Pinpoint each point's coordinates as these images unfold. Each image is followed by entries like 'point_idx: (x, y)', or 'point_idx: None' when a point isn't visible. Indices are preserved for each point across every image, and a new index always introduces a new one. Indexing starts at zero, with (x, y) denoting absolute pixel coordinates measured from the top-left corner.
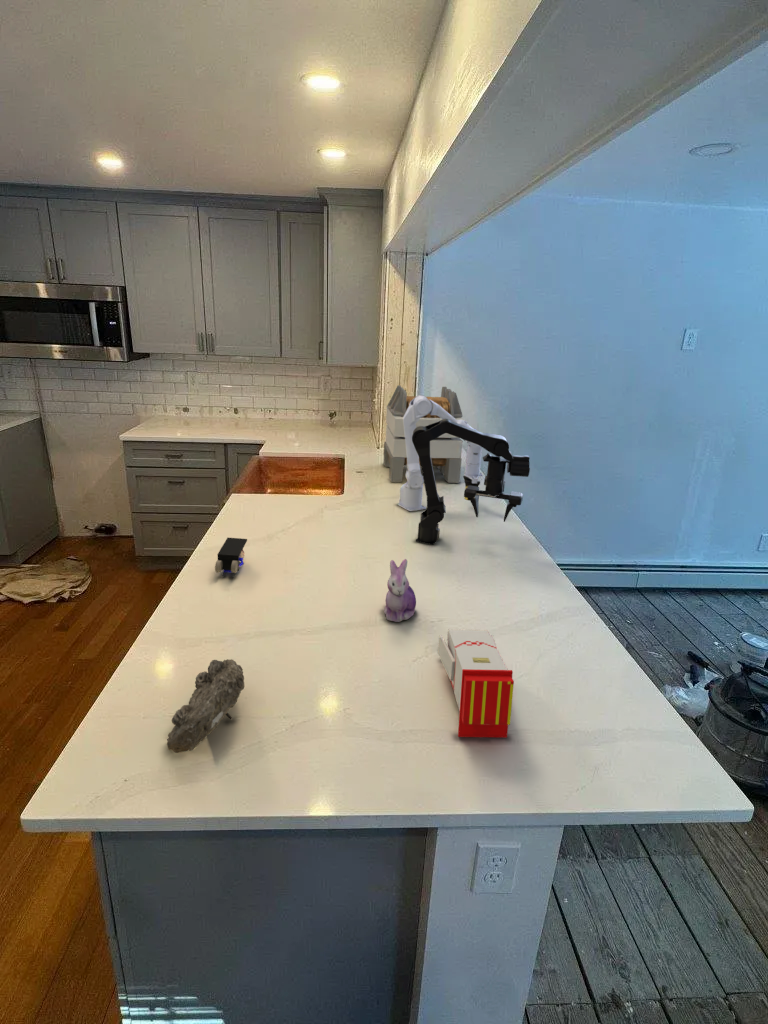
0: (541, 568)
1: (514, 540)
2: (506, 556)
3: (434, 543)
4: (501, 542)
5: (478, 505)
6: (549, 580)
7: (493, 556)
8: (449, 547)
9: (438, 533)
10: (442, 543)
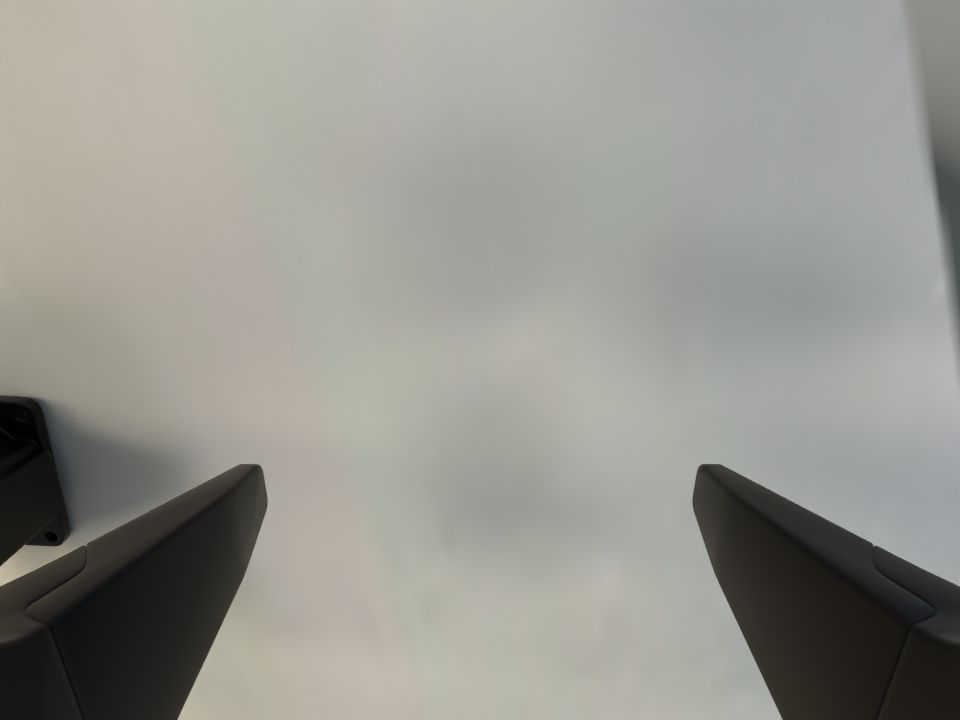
0: None
1: (737, 77)
2: (663, 495)
3: (64, 518)
4: (599, 208)
5: (133, 587)
6: None
7: (563, 533)
8: None
9: (5, 524)
10: (113, 467)
